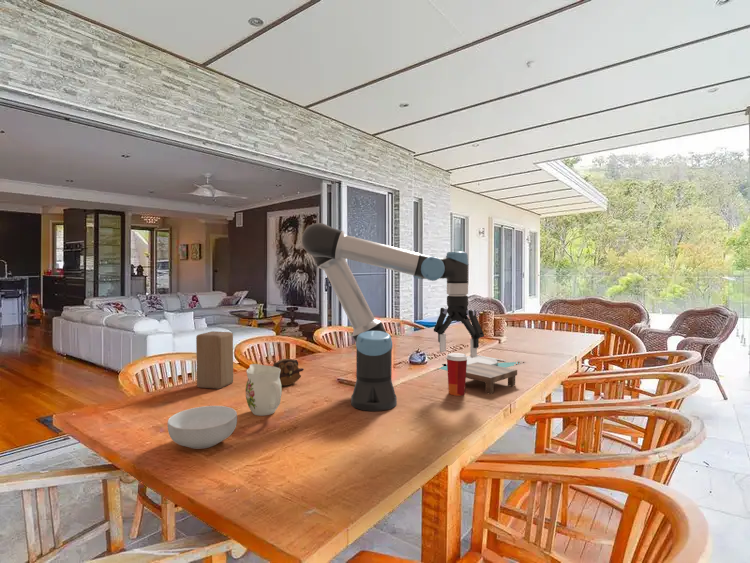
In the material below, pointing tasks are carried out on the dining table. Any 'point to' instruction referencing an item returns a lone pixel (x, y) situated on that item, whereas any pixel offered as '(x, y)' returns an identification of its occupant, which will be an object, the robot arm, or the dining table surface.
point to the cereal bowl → (202, 426)
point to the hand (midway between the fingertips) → (457, 354)
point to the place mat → (485, 361)
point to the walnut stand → (490, 374)
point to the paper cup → (456, 373)
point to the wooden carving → (288, 371)
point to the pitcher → (263, 389)
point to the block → (214, 359)
